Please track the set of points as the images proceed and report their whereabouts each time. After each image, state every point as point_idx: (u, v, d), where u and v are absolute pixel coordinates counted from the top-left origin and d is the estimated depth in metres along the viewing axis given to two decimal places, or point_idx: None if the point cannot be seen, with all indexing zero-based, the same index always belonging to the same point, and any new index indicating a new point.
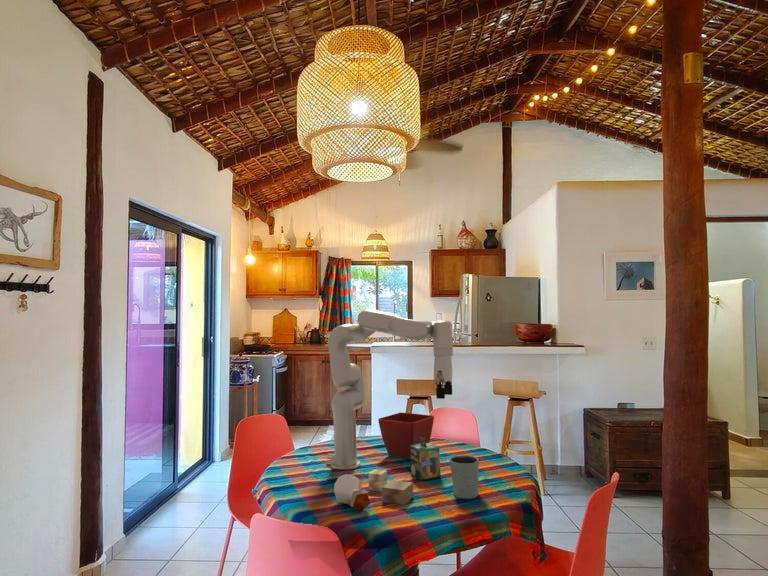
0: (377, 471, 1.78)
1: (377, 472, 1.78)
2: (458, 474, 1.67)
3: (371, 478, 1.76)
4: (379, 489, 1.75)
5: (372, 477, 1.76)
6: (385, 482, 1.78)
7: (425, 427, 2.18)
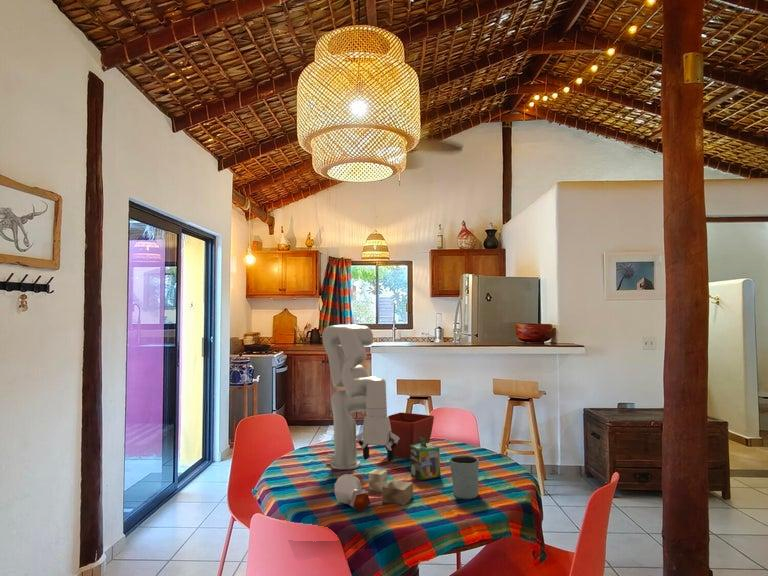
0: (377, 471, 1.78)
1: (377, 472, 1.78)
2: (458, 474, 1.67)
3: (371, 478, 1.76)
4: (379, 489, 1.75)
5: (372, 477, 1.76)
6: (385, 482, 1.78)
7: (425, 427, 2.18)
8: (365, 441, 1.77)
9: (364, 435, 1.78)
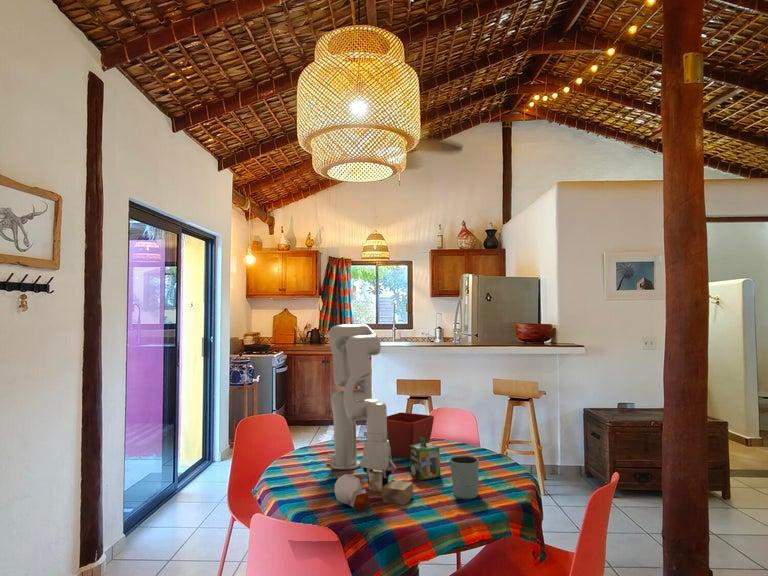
0: (377, 471, 1.78)
1: (377, 472, 1.78)
2: (458, 474, 1.67)
3: (371, 478, 1.76)
4: (379, 489, 1.75)
5: (372, 476, 1.76)
6: None
7: (425, 427, 2.18)
8: (365, 465, 1.77)
9: (364, 459, 1.78)
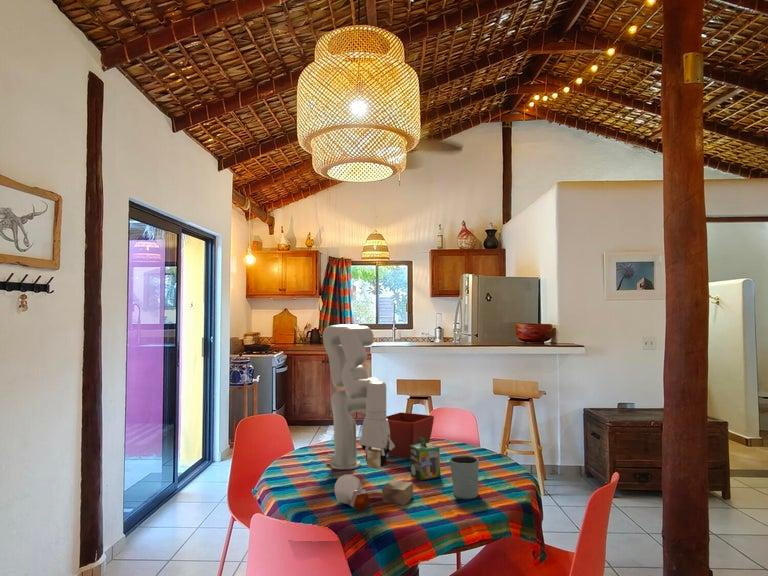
0: (375, 449, 1.80)
1: (376, 450, 1.79)
2: (458, 474, 1.67)
3: (370, 456, 1.78)
4: (377, 466, 1.76)
5: (371, 454, 1.78)
6: None
7: (425, 427, 2.18)
8: (364, 443, 1.79)
9: (363, 437, 1.79)
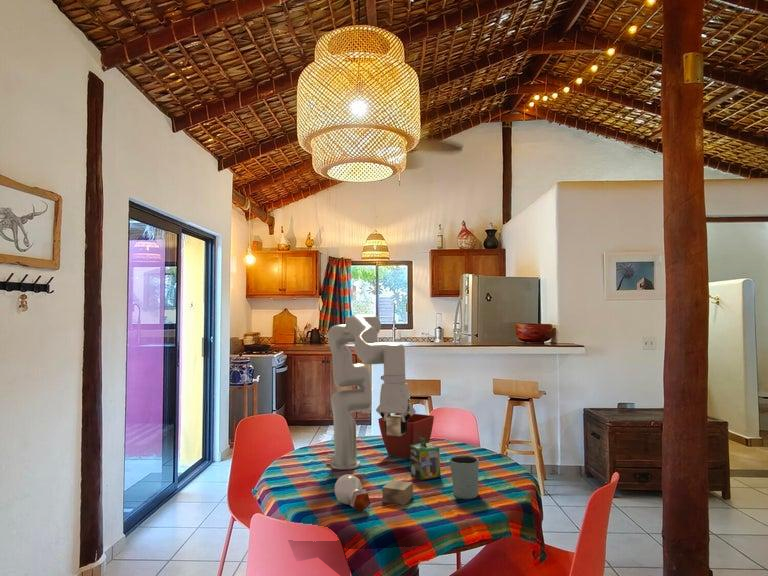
0: (395, 416, 1.69)
1: (395, 416, 1.68)
2: (458, 474, 1.67)
3: (389, 422, 1.67)
4: (397, 433, 1.65)
5: (390, 421, 1.67)
6: None
7: (425, 427, 2.18)
8: (382, 409, 1.68)
9: (381, 403, 1.68)
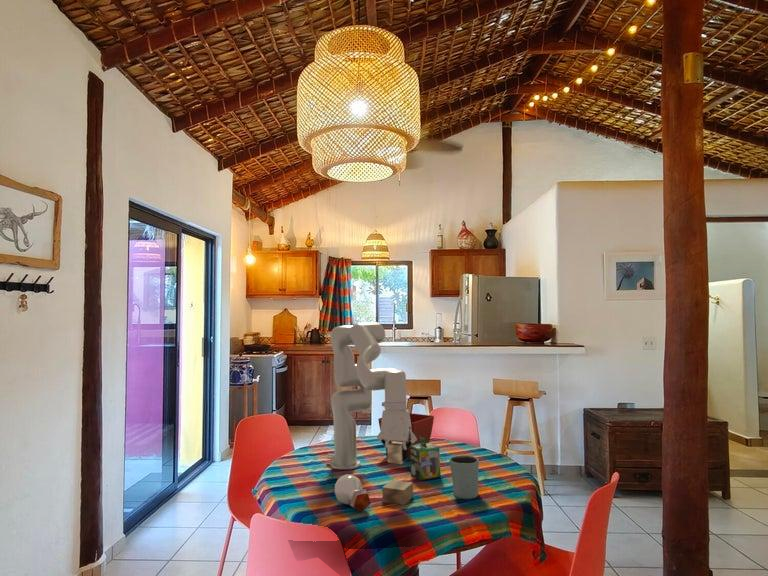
0: (396, 443, 1.68)
1: (397, 443, 1.67)
2: (458, 474, 1.67)
3: (390, 450, 1.66)
4: (399, 461, 1.64)
5: (391, 448, 1.66)
6: None
7: (425, 427, 2.18)
8: (383, 437, 1.67)
9: (382, 430, 1.67)
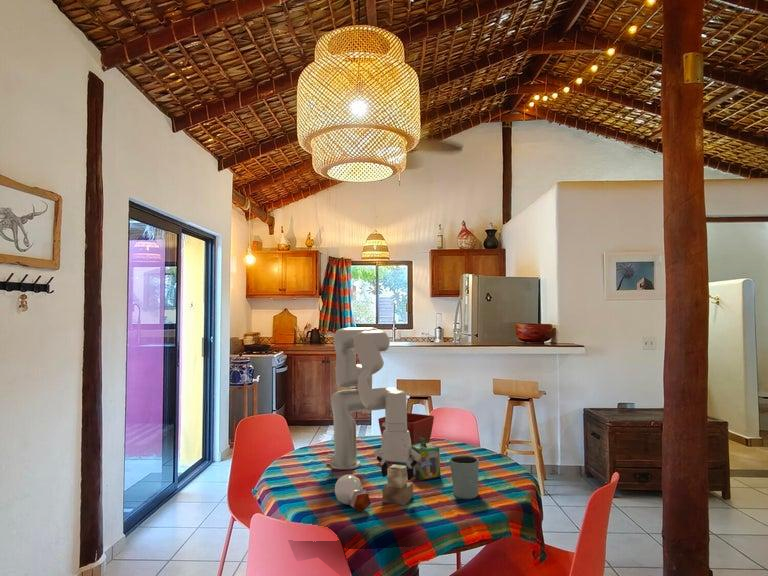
0: (396, 467, 1.68)
1: (397, 467, 1.67)
2: (458, 474, 1.67)
3: (390, 474, 1.66)
4: (399, 485, 1.64)
5: (391, 472, 1.66)
6: (405, 478, 1.67)
7: (425, 427, 2.18)
8: (384, 457, 1.67)
9: (383, 451, 1.67)
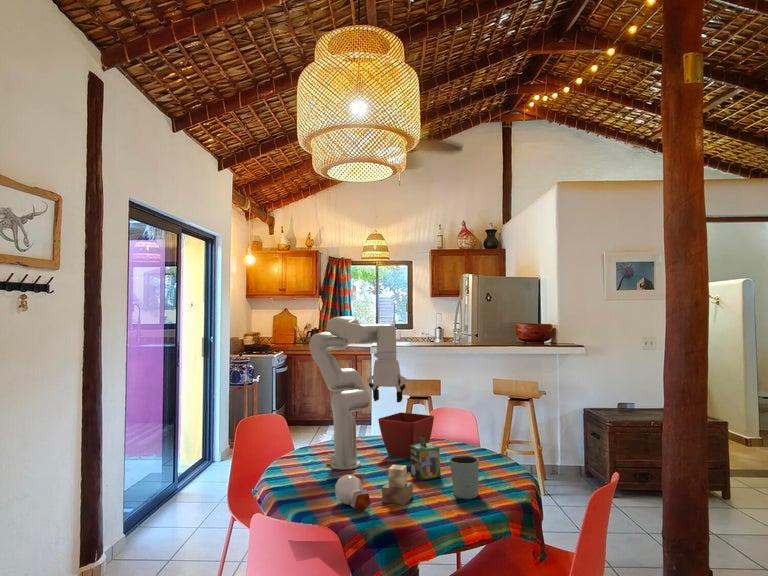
0: (397, 467, 1.68)
1: (397, 467, 1.67)
2: (458, 474, 1.67)
3: (392, 474, 1.65)
4: (400, 485, 1.64)
5: (393, 472, 1.65)
6: (405, 478, 1.67)
7: (425, 427, 2.18)
8: (375, 383, 1.86)
9: (374, 377, 1.86)
